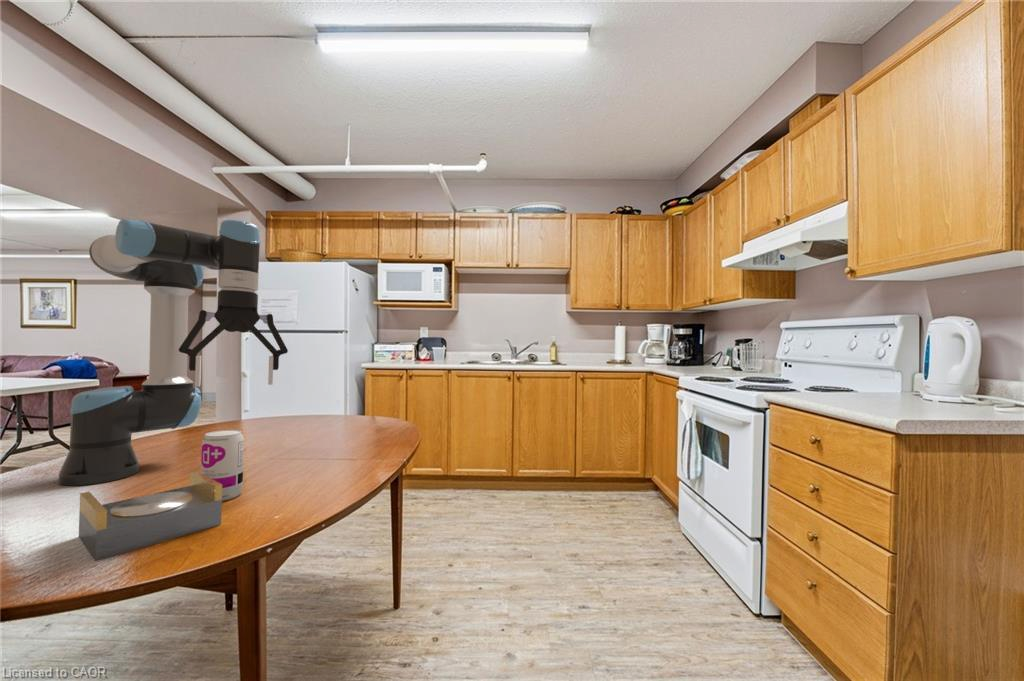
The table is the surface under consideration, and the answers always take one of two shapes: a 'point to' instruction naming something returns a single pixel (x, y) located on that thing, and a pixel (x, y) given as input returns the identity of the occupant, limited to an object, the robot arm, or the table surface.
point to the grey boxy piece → (149, 517)
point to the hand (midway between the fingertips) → (235, 385)
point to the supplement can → (224, 460)
